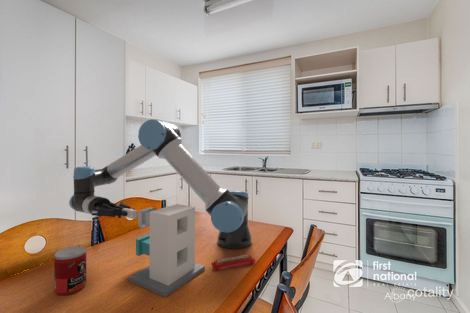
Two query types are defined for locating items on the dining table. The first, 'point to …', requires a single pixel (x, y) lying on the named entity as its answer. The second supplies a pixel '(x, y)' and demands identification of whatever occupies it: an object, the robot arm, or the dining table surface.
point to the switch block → (170, 250)
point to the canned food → (70, 270)
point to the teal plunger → (143, 245)
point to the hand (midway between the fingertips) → (135, 214)
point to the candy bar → (232, 262)
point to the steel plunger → (145, 217)
